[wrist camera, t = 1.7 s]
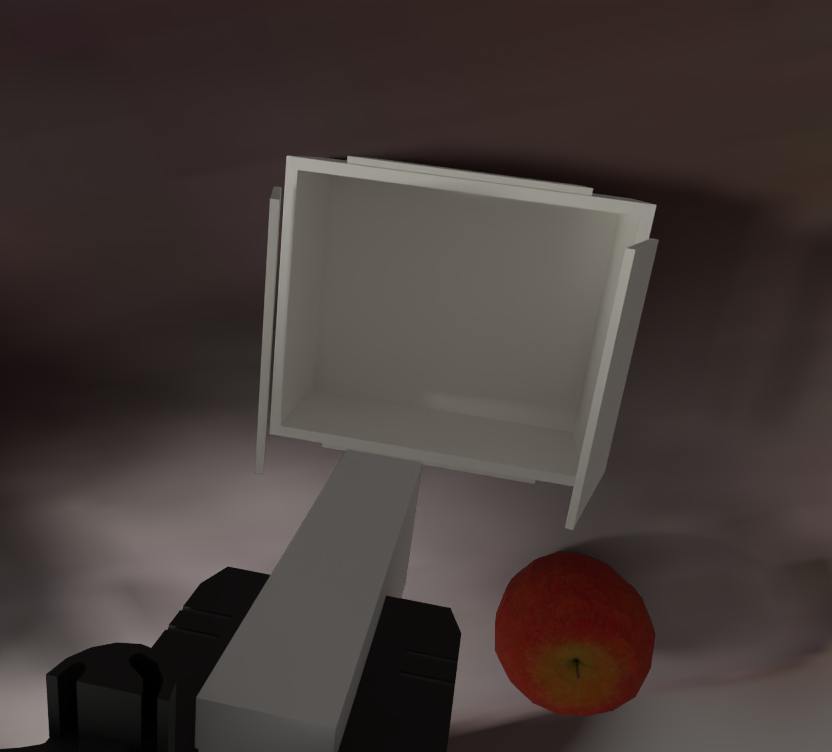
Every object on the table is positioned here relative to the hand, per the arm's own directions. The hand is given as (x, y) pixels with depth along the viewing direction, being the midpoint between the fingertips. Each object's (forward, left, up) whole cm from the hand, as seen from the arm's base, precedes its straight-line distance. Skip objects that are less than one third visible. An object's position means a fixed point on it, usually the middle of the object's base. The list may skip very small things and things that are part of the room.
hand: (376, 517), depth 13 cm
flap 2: (+6, 0, -13) cm, 15 cm away
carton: (0, 0, -23) cm, 23 cm away
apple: (+8, -15, -23) cm, 29 cm away
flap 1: (-7, 0, -13) cm, 15 cm away
